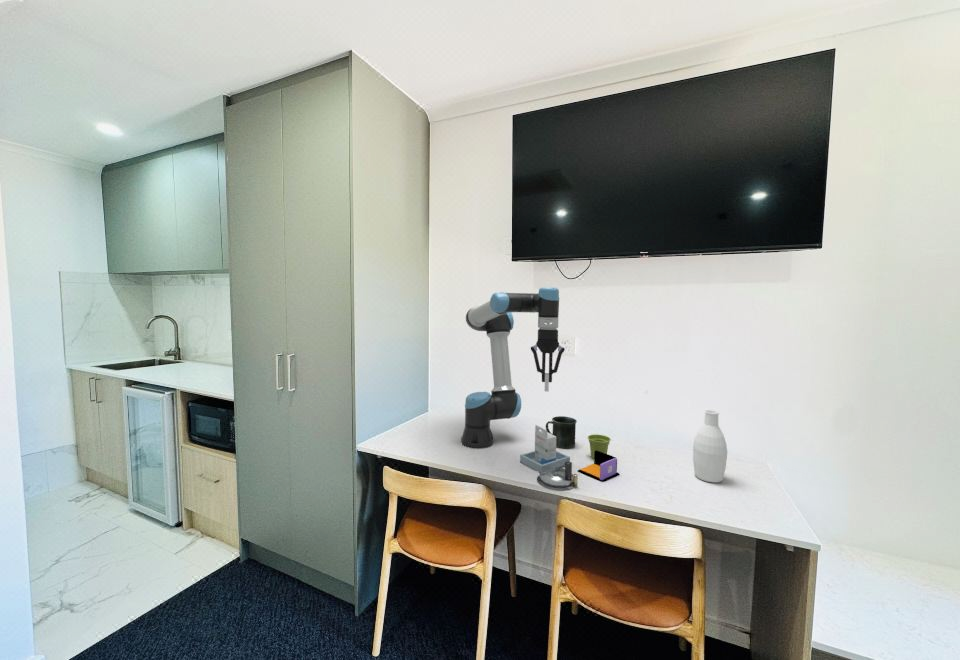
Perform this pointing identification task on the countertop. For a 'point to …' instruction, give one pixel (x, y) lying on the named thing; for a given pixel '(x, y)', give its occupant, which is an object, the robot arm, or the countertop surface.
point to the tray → (530, 461)
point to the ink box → (544, 446)
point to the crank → (557, 476)
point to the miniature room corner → (601, 467)
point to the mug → (563, 431)
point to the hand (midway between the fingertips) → (546, 390)
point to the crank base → (560, 488)
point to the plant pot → (598, 443)
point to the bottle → (710, 450)
